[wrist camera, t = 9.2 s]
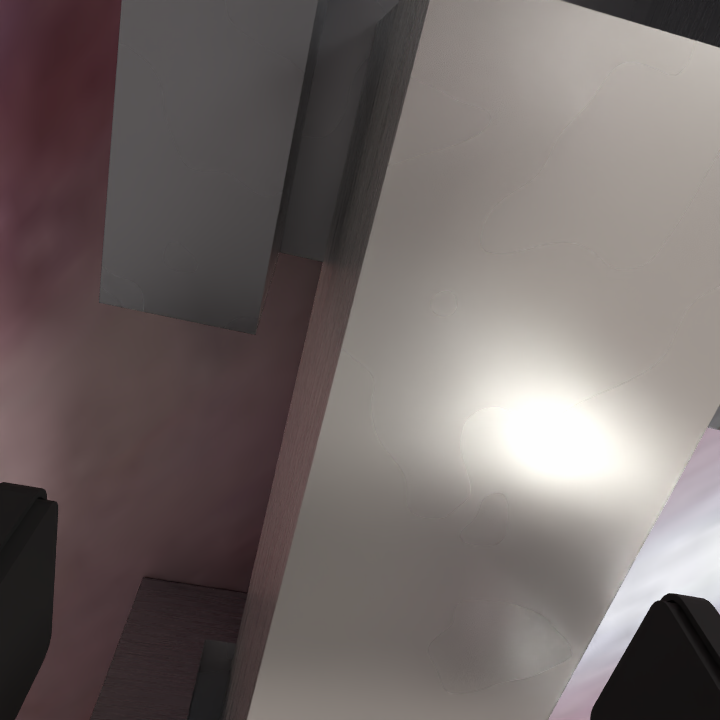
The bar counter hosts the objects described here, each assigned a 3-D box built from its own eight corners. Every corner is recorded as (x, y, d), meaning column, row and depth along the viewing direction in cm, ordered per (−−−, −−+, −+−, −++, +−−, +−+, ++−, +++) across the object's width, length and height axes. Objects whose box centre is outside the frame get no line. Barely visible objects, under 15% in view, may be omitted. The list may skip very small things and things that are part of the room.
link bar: (377, 22, 9) (437, -36, 4) (571, 77, 10) (886, 96, 4) (214, 741, 16) (148, 1105, 10) (333, 756, 16) (332, 1113, 11)
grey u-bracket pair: (256, -290, 9) (170, -664, 4) (772, -118, 10) (1144, -271, 5) (119, 761, 18) (46, 995, 14) (391, 793, 19) (408, 1019, 15)
